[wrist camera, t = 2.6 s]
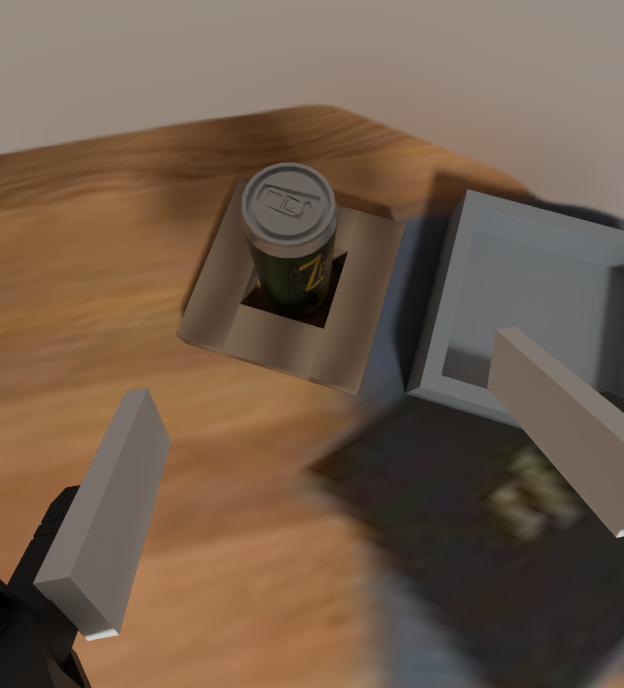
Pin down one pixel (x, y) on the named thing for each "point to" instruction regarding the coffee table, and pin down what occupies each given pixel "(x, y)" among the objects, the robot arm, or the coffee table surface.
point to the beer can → (291, 235)
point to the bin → (519, 301)
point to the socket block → (286, 334)
